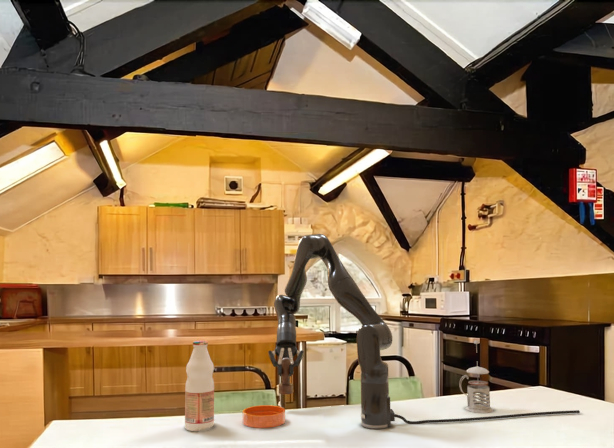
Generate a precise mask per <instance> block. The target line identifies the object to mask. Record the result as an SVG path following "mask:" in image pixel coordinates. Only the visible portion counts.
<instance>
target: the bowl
mask: <svg viewBox="0 0 614 448" xmlns="http://www.w3.org/2000/svg"><path fill="white" fill-rule="evenodd" d="M241 415H242V417H241V418H242V424H243V425H244V426H246V427H249V428H255V429H268V428H275V427H280V426H282V425H284V424H285V423H286V409H285V407H282V406H280V405H279V406H278V405H271V404H267V405H266V404H263V405H253V406H249V407H246V408H244V409H242V414H241Z"/></svg>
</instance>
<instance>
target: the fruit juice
mask: <svg viewBox="0 0 614 448" xmlns="http://www.w3.org/2000/svg"><path fill="white" fill-rule="evenodd" d="M208 344H209V341H208V340H204V339H200V340H199V339H197V340H193V341H192V347H193V349H192V351H191V355H190V357H189V360H188V362H187V363H186V367H185V373H186V376H187V378H186V381H185V385H184V387H185V388H184V392H185V393H184V428H185V429H186V430H187V431H189V432H191V431H192V432H199V431H200V430H204V429H205V430H206V429H210V428H212V427H213V426H214V424H215V380H214V378H213V375H214V371H215V365H214V362H213V360H212V359H211V356H210V353H209V350H208Z"/></svg>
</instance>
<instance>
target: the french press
mask: <svg viewBox="0 0 614 448" xmlns="http://www.w3.org/2000/svg"><path fill="white" fill-rule="evenodd" d="M473 344H474V345H475V347H476V348H475V349H476V352H478V344H480V341H479V340H478V339H477V340H476V339H475V340H474V341H473ZM478 363H479V362H476V366H473V367H469V368H468V369H466V373H467V374H464V375H462V376H461V377H460V379H459V382H458V383H459V384H458V385H459V390H460V392H461V393H462V394H464V395H465V396H466V403H467V406H466V407H465V408H464V409H465V411H468V412H472V413H476V414H477V413H478V414H489V413H492V412H494V409H493V408H492V407H491V399H490V398H491V396H490V395H491V394H490V393H491V392H490V391H491V390H490V386H489V382H488V381H484V380H478V379H477V380H474V379H473V380H469V377H468V374H472V375H477V377H479V375H488V374H489V373H490V371H489V370H488V369H487V368H484V367H481V366H478ZM465 378H466V380H469V381H468V382H467V383H468V385H467V387H466V388H467V393H465V392H464V391H463V388H462V387H461V384H462V382H463V380H464V379H465Z"/></svg>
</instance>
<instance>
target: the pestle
mask: <svg viewBox="0 0 614 448" xmlns="http://www.w3.org/2000/svg"><path fill="white" fill-rule="evenodd" d="M281 363H282V377H281V382H280V383H278V394H280V395H290V394H293V393H294V384H293V383H292V382H291V376H290V359H289V358H287V357H285V358H283V359H282V361H281Z"/></svg>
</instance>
